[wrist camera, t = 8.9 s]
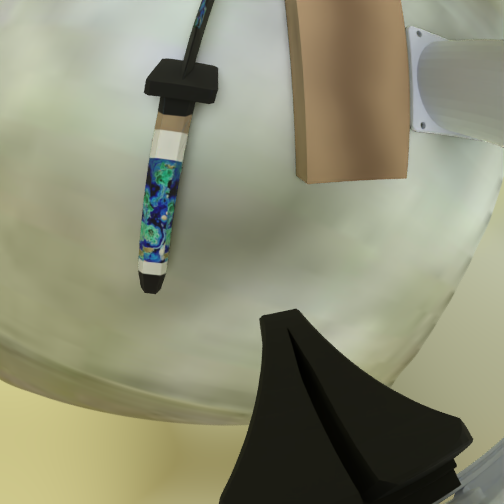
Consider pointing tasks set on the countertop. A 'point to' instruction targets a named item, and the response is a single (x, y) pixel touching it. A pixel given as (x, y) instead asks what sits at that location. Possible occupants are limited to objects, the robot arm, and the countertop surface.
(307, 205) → the countertop surface
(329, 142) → the walnut board
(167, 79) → the knife
